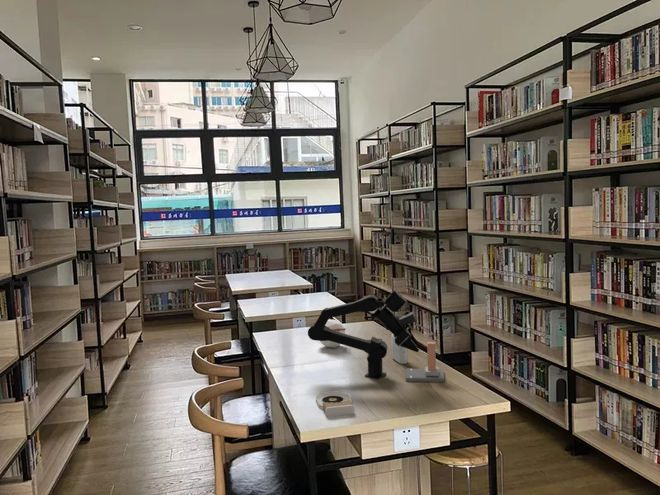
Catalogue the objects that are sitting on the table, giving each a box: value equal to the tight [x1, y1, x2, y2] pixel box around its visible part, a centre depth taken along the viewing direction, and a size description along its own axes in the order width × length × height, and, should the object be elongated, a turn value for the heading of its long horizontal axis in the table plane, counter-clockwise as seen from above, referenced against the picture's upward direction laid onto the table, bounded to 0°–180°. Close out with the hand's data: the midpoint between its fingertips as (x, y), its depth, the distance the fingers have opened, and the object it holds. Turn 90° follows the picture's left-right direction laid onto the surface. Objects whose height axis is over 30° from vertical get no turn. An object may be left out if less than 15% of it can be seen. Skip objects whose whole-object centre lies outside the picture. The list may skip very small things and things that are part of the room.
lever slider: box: [424, 341, 439, 376], centre depth 207 cm, size 5×7×12 cm
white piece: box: [319, 318, 346, 348], centre depth 258 cm, size 14×25×14 cm, turn 14°
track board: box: [405, 368, 445, 383], centre depth 208 cm, size 14×12×1 cm
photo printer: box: [390, 333, 409, 365], centre depth 230 cm, size 10×4×12 cm, turn 17°
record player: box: [315, 390, 355, 417], centre depth 182 cm, size 12×3×20 cm
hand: (418, 348), depth 208 cm, fingers open, 9 cm apart
